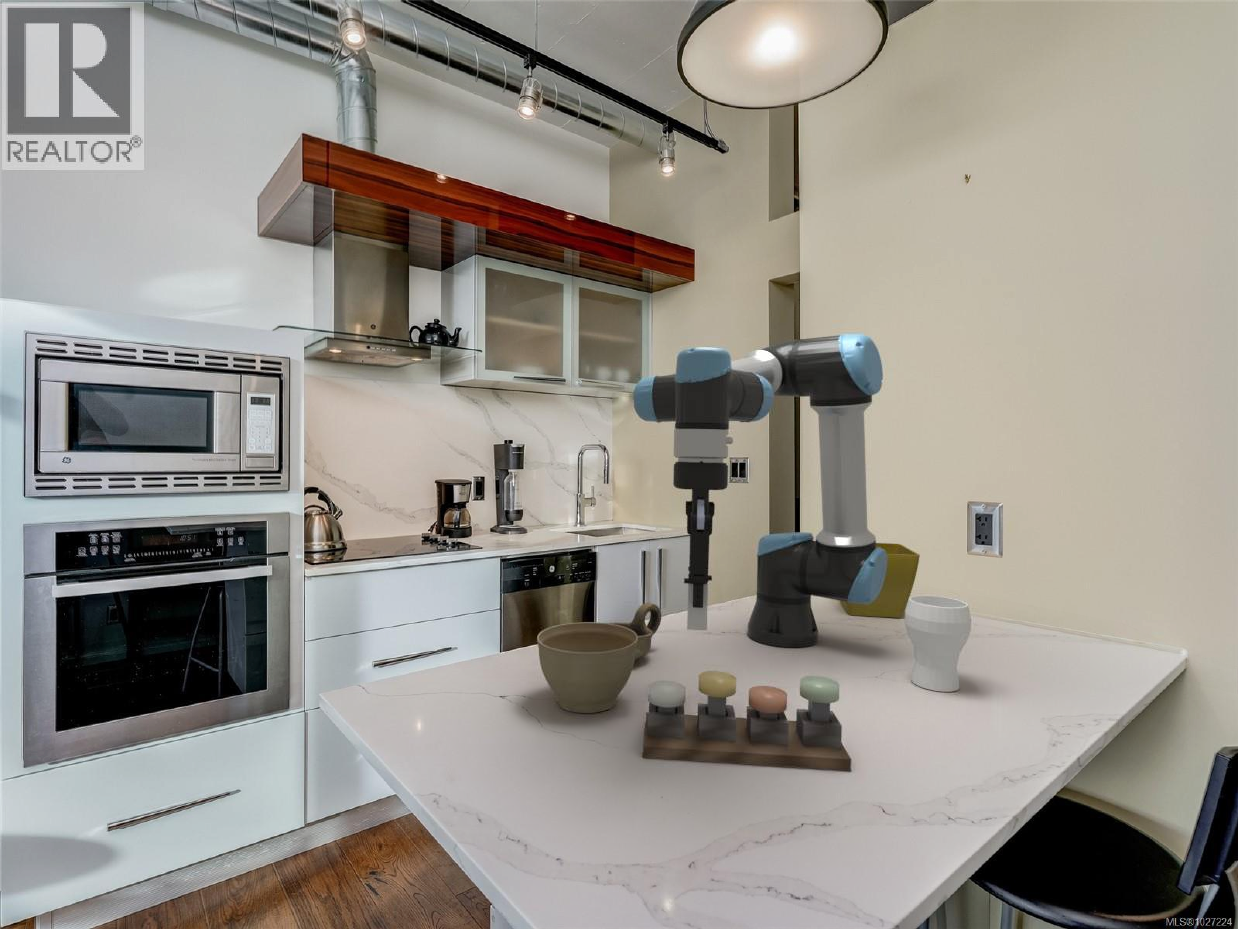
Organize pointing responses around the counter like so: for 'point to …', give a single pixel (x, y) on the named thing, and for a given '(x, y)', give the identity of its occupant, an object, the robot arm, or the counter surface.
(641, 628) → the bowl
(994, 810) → the counter surface
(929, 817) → the counter surface
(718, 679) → the ochre button
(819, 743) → the panel
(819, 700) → the sage button
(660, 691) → the grey button
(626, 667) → the planter bowl
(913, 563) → the flower pot
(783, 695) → the terracotta button
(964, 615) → the cup
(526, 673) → the counter surface
